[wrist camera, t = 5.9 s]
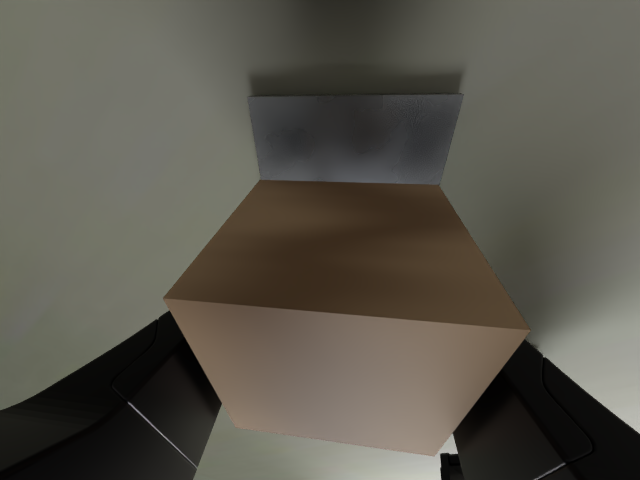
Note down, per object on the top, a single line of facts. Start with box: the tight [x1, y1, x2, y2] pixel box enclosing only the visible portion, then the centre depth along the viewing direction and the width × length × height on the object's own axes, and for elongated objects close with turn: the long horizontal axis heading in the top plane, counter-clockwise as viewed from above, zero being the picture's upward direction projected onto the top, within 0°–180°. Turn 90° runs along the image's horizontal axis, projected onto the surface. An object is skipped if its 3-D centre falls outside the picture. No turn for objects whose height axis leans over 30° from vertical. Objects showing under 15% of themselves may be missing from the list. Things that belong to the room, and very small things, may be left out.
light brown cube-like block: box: [163, 180, 531, 456], centre depth 7 cm, size 6×6×5 cm
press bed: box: [248, 93, 464, 185], centre depth 13 cm, size 9×9×1 cm
